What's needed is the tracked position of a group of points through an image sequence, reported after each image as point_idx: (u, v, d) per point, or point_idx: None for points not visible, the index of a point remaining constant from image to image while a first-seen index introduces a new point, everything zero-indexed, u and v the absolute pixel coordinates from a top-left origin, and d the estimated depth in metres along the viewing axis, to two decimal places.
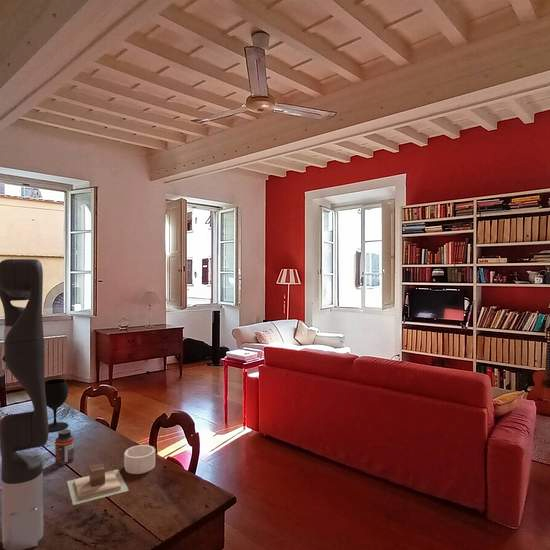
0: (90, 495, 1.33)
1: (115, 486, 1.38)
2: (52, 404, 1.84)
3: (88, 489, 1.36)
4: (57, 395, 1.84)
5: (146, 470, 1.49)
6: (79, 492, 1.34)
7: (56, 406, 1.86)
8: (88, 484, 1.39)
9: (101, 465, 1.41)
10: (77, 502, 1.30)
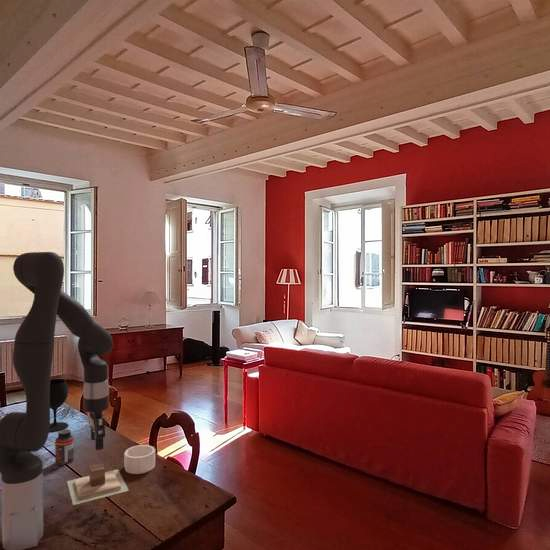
0: (90, 495, 1.33)
1: (115, 486, 1.38)
2: (52, 404, 1.84)
3: (88, 489, 1.36)
4: (57, 395, 1.84)
5: (146, 470, 1.49)
6: (79, 492, 1.34)
7: (56, 406, 1.86)
8: (88, 484, 1.39)
9: (101, 465, 1.41)
10: (77, 502, 1.30)
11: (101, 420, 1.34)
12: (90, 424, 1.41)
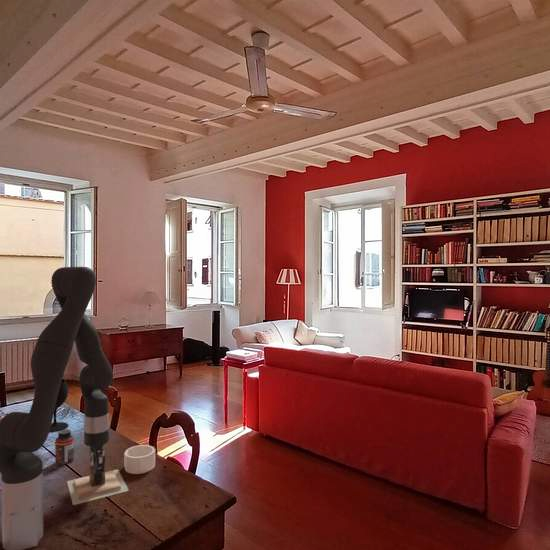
0: (90, 495, 1.33)
1: (115, 486, 1.38)
2: None
3: (88, 489, 1.36)
4: None
5: (146, 470, 1.49)
6: (79, 492, 1.34)
7: (56, 406, 1.86)
8: (88, 484, 1.39)
9: None
10: (77, 502, 1.30)
11: (101, 459, 1.34)
12: (91, 460, 1.41)
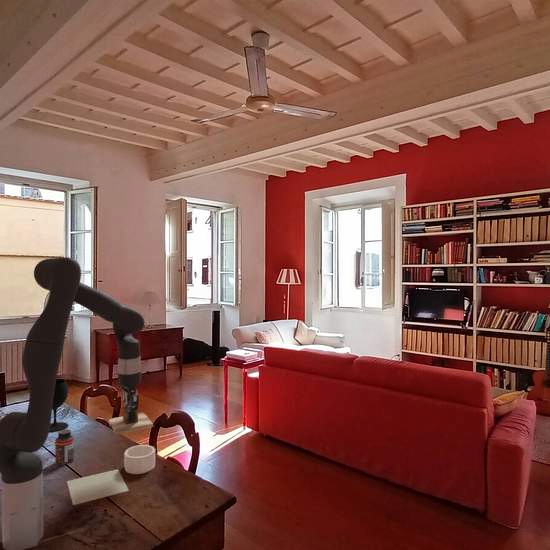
0: (126, 431, 1.43)
1: (148, 424, 1.48)
2: None
3: (123, 426, 1.46)
4: (57, 395, 1.84)
5: (146, 470, 1.49)
6: (115, 428, 1.44)
7: (56, 406, 1.86)
8: (122, 422, 1.49)
9: None
10: (77, 502, 1.30)
11: (135, 397, 1.44)
12: (124, 401, 1.50)
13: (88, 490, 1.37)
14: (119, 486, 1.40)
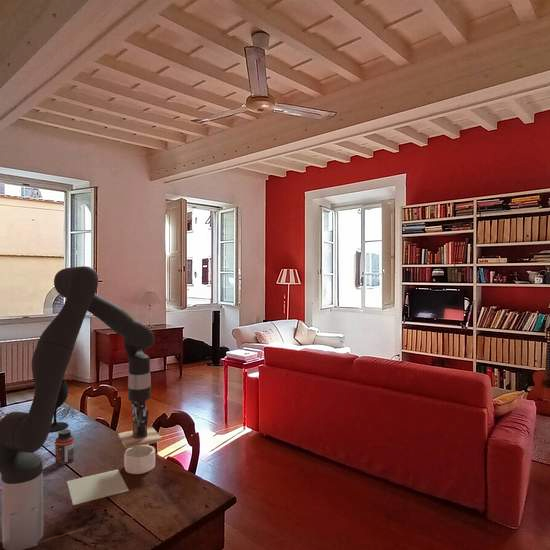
0: (135, 445, 1.46)
1: (157, 438, 1.50)
2: None
3: (133, 440, 1.48)
4: None
5: (146, 470, 1.49)
6: (125, 442, 1.47)
7: (56, 406, 1.86)
8: (132, 437, 1.51)
9: None
10: (77, 502, 1.30)
11: (145, 412, 1.47)
12: (134, 415, 1.53)
13: (88, 490, 1.37)
14: (119, 486, 1.40)
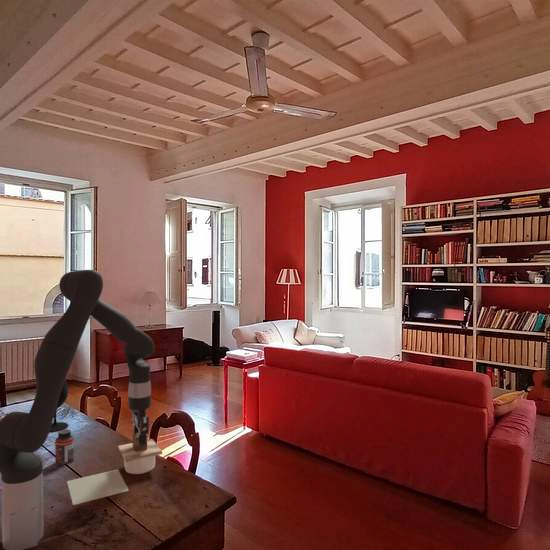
0: (135, 458, 1.46)
1: (157, 451, 1.51)
2: None
3: (133, 453, 1.49)
4: None
5: (146, 470, 1.49)
6: (125, 456, 1.47)
7: None
8: (132, 449, 1.52)
9: None
10: (77, 502, 1.30)
11: (145, 418, 1.47)
12: (133, 422, 1.54)
13: (88, 490, 1.37)
14: (119, 486, 1.40)
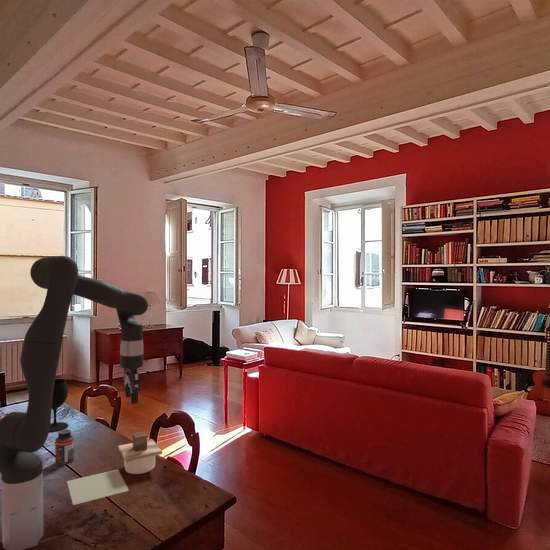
0: (135, 458, 1.46)
1: (157, 451, 1.51)
2: (52, 404, 1.84)
3: (133, 453, 1.49)
4: (57, 395, 1.84)
5: (146, 470, 1.49)
6: (125, 456, 1.47)
7: (56, 406, 1.86)
8: (132, 449, 1.52)
9: (143, 432, 1.54)
10: (77, 502, 1.30)
11: (137, 375, 1.44)
12: (125, 382, 1.51)
13: (88, 490, 1.37)
14: (119, 486, 1.40)
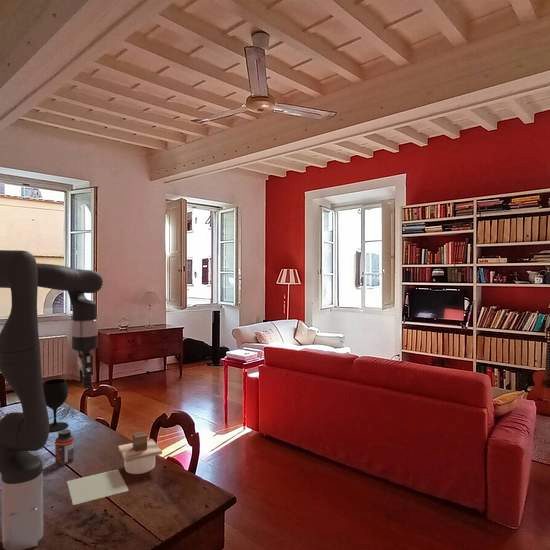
0: (135, 458, 1.46)
1: (157, 451, 1.51)
2: (52, 404, 1.84)
3: (133, 453, 1.49)
4: (57, 395, 1.84)
5: (146, 470, 1.49)
6: (125, 456, 1.47)
7: (56, 406, 1.86)
8: (132, 449, 1.52)
9: (143, 432, 1.54)
10: (77, 502, 1.30)
11: (89, 357, 1.33)
12: (79, 365, 1.41)
13: (88, 490, 1.37)
14: (119, 486, 1.40)
